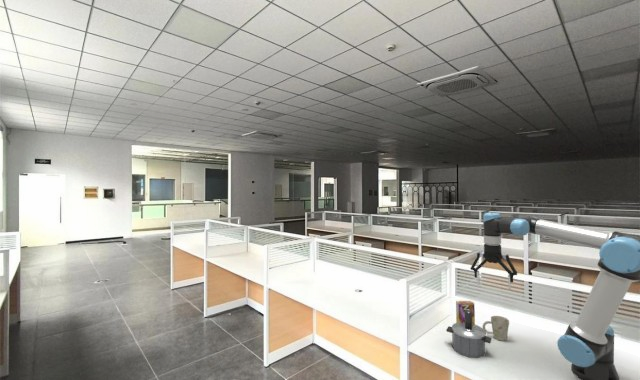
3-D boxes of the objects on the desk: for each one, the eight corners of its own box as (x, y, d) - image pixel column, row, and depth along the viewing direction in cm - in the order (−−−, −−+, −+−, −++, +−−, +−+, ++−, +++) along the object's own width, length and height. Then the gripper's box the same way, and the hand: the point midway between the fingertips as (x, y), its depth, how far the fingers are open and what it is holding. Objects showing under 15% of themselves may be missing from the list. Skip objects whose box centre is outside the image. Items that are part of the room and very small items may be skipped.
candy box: (472, 326, 171) (471, 300, 171) (475, 330, 167) (475, 303, 166) (455, 326, 172) (455, 300, 172) (458, 330, 168) (458, 303, 167)
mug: (511, 342, 154) (512, 323, 154) (485, 340, 157) (485, 321, 156) (505, 334, 162) (505, 316, 162) (480, 332, 165) (480, 314, 164)
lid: (488, 329, 149) (488, 310, 149) (482, 342, 138) (482, 321, 137) (456, 321, 159) (456, 303, 158) (448, 333, 147) (448, 312, 147)
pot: (493, 349, 148) (493, 331, 148) (488, 363, 137) (488, 343, 136) (451, 337, 160) (451, 320, 160) (443, 349, 149) (443, 331, 149)
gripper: (522, 244, 146) (523, 288, 146) (466, 240, 160) (467, 280, 160) (522, 247, 139) (523, 292, 139) (463, 243, 154) (464, 284, 154)
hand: (493, 286), depth 150 cm, fingers open, 13 cm apart
